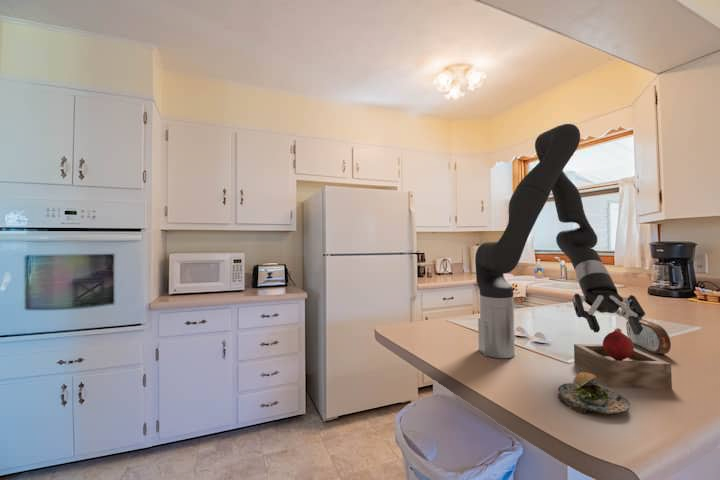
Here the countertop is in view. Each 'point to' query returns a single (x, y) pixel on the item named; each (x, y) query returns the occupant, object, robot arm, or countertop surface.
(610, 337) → the onion
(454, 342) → the countertop surface
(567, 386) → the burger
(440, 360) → the countertop surface
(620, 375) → the open wooden tray box
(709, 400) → the countertop surface
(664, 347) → the tin
